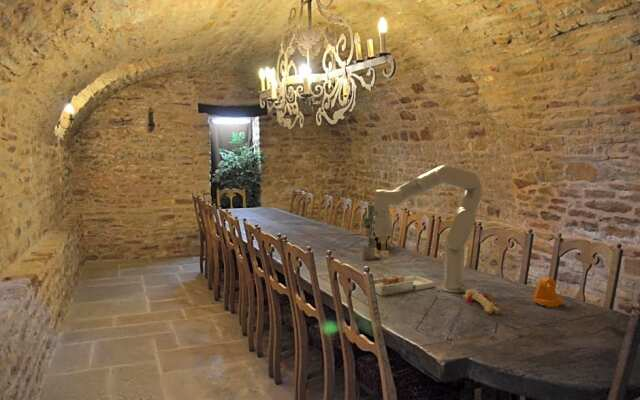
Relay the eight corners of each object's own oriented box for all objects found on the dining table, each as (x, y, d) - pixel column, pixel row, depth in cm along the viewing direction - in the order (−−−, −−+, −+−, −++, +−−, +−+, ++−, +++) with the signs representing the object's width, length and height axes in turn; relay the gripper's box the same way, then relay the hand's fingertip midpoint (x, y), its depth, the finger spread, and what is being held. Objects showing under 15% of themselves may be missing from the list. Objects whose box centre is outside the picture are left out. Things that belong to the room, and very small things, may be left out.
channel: (413, 289, 254) (413, 281, 253) (381, 296, 243) (381, 286, 243) (396, 283, 265) (396, 275, 264) (365, 289, 255) (365, 280, 254)
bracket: (541, 307, 227) (543, 281, 226) (532, 302, 234) (533, 276, 233) (563, 306, 228) (565, 280, 227) (554, 301, 236) (555, 276, 234)
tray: (434, 286, 259) (434, 281, 259) (415, 290, 253) (415, 285, 253) (415, 279, 272) (415, 275, 272) (396, 283, 266) (396, 278, 265)
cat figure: (504, 317, 218) (477, 295, 242) (505, 298, 217) (478, 278, 241) (482, 318, 217) (458, 296, 241) (484, 299, 215) (459, 278, 239)
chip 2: (404, 282, 256) (404, 276, 255) (397, 284, 253) (397, 278, 253) (398, 280, 260) (398, 274, 259) (391, 281, 257) (391, 276, 257)
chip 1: (395, 284, 253) (395, 278, 253) (388, 285, 251) (388, 279, 250) (390, 282, 257) (390, 276, 256) (383, 283, 255) (383, 277, 254)
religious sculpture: (363, 244, 368) (363, 203, 364) (377, 243, 371) (378, 203, 367) (375, 251, 345) (375, 207, 342) (390, 250, 348) (391, 207, 345)
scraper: (388, 258, 257) (388, 237, 256) (383, 259, 256) (383, 237, 255) (379, 255, 264) (379, 234, 263) (374, 256, 263) (374, 235, 262)
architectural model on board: (378, 258, 326) (378, 243, 325) (380, 259, 323) (380, 244, 322) (362, 259, 321) (362, 244, 320) (365, 260, 319) (365, 245, 318)
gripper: (372, 216, 250) (372, 252, 252) (399, 213, 258) (398, 249, 260) (364, 214, 257) (364, 249, 259) (390, 212, 265) (390, 246, 267)
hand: (381, 249), depth 260 cm, fingers closed on scraper, 3 cm apart
